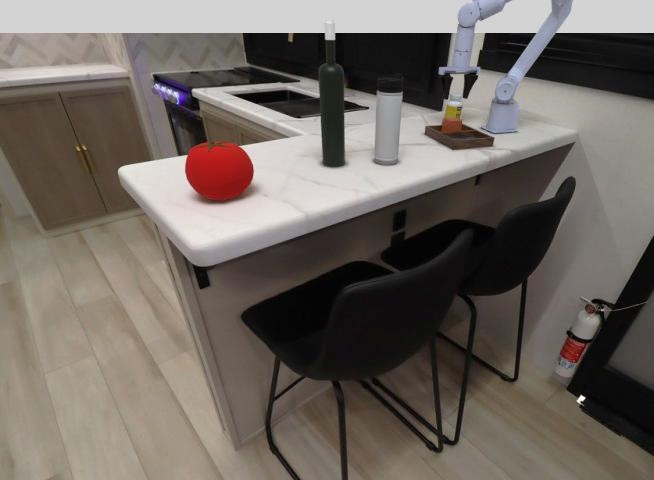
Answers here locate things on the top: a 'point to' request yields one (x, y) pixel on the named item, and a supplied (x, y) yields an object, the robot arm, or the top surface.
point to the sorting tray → (460, 137)
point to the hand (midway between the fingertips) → (455, 98)
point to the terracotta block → (451, 124)
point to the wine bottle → (332, 104)
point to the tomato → (219, 170)
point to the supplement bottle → (454, 106)
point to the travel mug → (388, 118)
